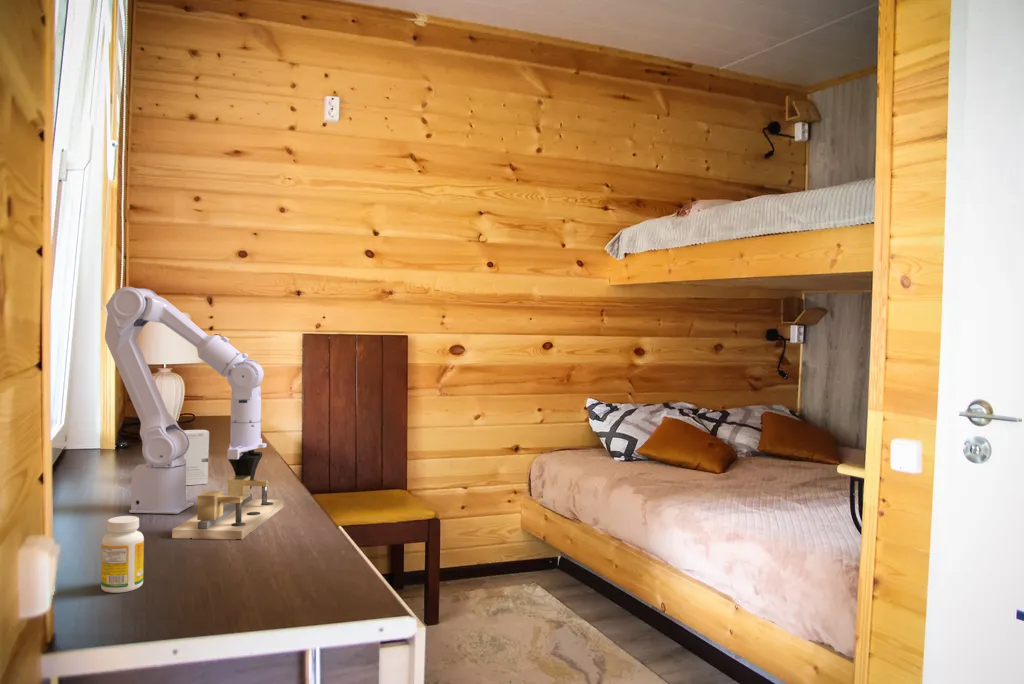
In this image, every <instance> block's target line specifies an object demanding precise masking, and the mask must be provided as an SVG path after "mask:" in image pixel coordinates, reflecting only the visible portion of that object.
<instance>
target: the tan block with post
mask: <svg viewBox="0 0 1024 684" xmlns="http://www.w3.org/2000/svg"><path fill="white" fill-rule="evenodd" d="M250 486H252V487H261V499H262V504H267V499H268V486H269V480H268V479H254V480H250V476H240V475H235V474H234V475H233V476H231V477H229V478H227V486H226V487H227V491H226V492H227V495H226V496H243V500H244V499H246V498H248V497H249V496H250V494H251V489H250Z"/></svg>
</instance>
